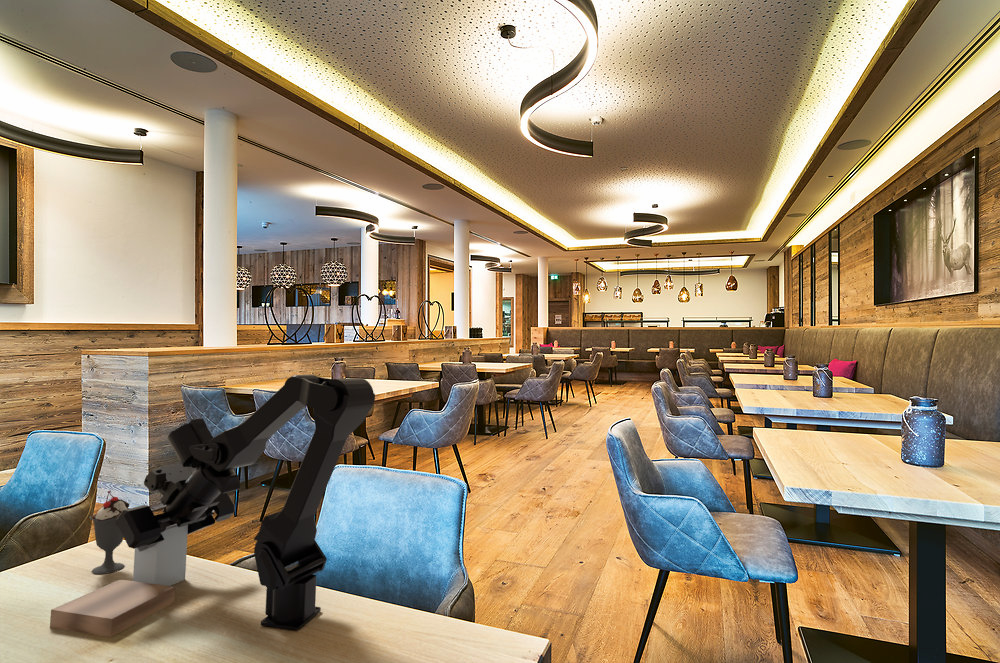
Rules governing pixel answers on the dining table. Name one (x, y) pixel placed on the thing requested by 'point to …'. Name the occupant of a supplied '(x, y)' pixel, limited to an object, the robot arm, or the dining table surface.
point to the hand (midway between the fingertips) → (156, 543)
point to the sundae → (108, 533)
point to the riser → (112, 608)
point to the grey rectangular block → (163, 559)
